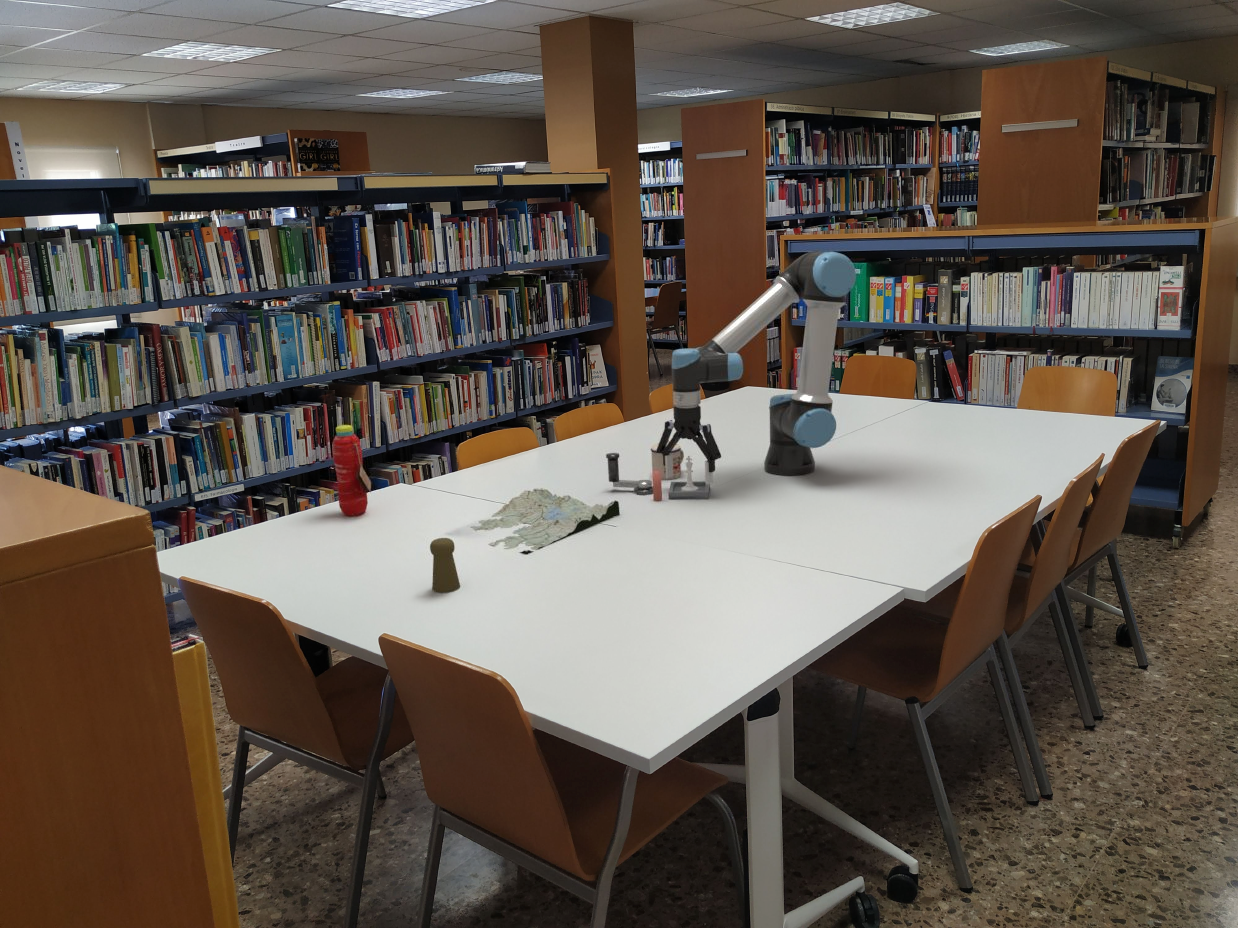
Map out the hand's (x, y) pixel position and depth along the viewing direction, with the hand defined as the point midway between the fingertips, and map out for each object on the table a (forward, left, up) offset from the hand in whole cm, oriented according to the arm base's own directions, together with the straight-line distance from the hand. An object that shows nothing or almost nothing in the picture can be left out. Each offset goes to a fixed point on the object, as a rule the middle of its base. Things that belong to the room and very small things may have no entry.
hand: (689, 480), depth 262 cm
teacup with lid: (+7, -20, -4) cm, 22 cm away
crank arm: (+17, -3, -2) cm, 18 cm away
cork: (+49, +70, -4) cm, 86 cm away
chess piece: (0, 0, -3) cm, 3 cm away
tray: (0, 0, -4) cm, 4 cm away
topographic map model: (+39, +27, -5) cm, 48 cm away
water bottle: (+91, +17, -4) cm, 93 cm away
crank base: (+13, -2, -4) cm, 14 cm away
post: (+8, +6, -4) cm, 11 cm away
